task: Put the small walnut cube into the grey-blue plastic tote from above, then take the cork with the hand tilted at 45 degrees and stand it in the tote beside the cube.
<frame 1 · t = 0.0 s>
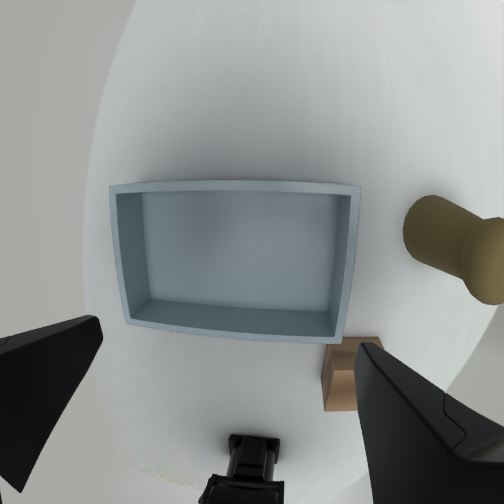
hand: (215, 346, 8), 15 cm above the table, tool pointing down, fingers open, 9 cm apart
tote: (235, 248, 23), on the table
walnut cube: (349, 357, 24), on the table
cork: (430, 229, 20), on the table
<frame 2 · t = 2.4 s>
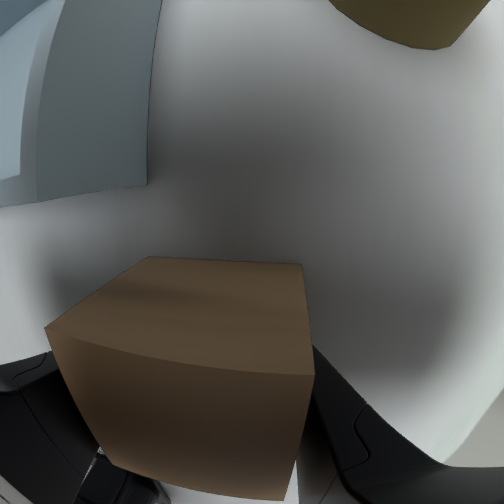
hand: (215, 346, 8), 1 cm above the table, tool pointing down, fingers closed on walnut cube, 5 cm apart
tote: (13, 92, 8), on the table
walnut cube: (222, 329, 9), on the table, touching gripper
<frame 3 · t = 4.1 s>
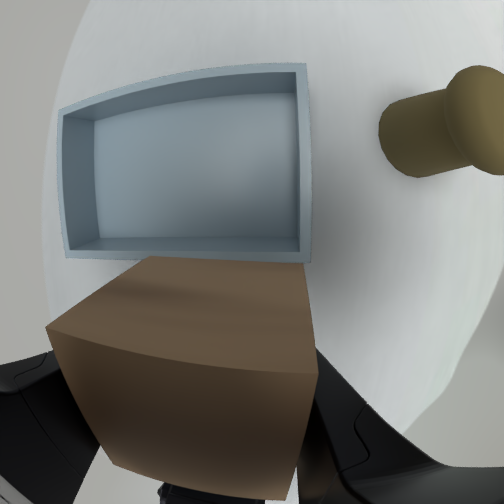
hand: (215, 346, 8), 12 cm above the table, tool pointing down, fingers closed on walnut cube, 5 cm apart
tote: (184, 168, 19), on the table
walnut cube: (223, 329, 9), point 11 cm above the table, touching gripper
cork: (413, 138, 17), on the table
when the fingers open (5 cm above the table, at t = 6.0 s): walnut cube drops 4 cm, resting on tote.
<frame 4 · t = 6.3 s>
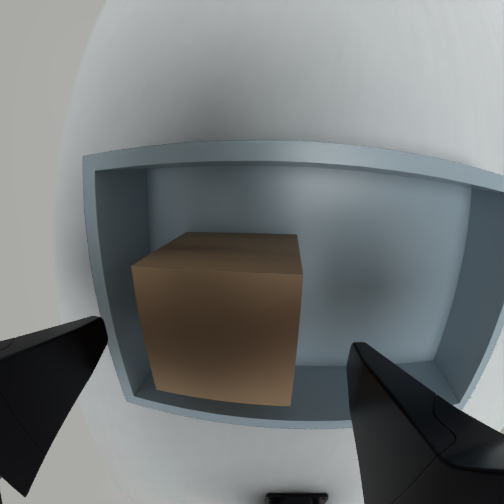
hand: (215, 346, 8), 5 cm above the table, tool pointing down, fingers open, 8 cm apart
tote: (315, 275, 13), on the table
walnut cube: (240, 285, 13), point 1 cm above the table, touching tote
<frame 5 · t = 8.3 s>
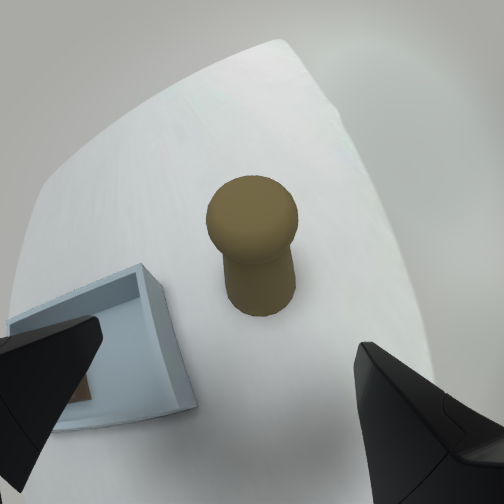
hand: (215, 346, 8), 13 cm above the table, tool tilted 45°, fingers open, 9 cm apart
tote: (96, 367, 21), on the table
walnut cube: (67, 378, 19), point 1 cm above the table, touching tote
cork: (260, 283, 24), on the table
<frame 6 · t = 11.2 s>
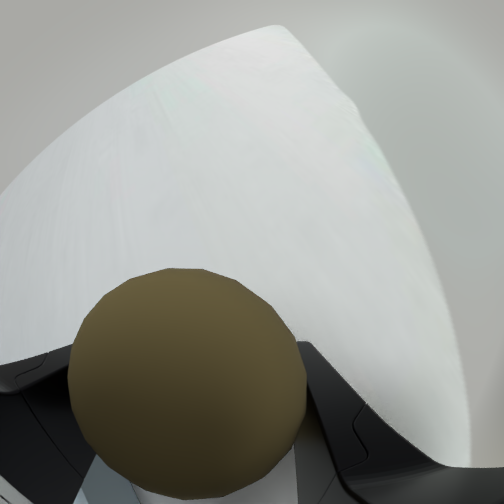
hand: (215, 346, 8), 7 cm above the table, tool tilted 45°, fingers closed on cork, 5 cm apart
tote: (37, 462, 10), on the table
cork: (238, 392, 14), on the table, touching gripper
when the fingers open (8 cm above the table, at t = 14.2 s): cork drops 1 cm, resting on tote.
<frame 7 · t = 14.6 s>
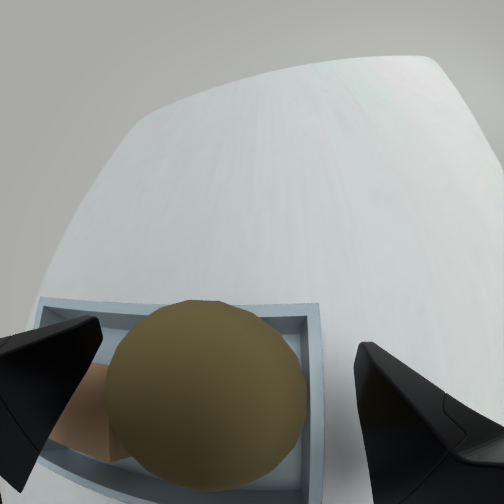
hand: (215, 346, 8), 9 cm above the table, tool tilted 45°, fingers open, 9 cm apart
tote: (170, 409, 15), on the table
walnut cube: (118, 407, 14), point 1 cm above the table, touching tote
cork: (241, 393, 15), resting on tote
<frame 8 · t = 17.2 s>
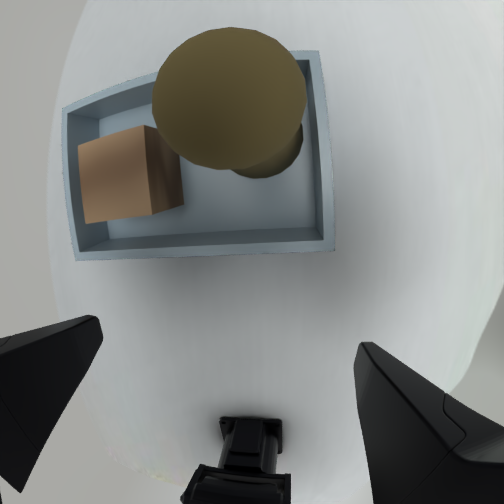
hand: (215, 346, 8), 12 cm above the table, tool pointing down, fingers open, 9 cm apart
tote: (196, 161, 19), on the table
walnut cube: (149, 174, 19), point 1 cm above the table, touching tote
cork: (257, 134, 17), resting on tote
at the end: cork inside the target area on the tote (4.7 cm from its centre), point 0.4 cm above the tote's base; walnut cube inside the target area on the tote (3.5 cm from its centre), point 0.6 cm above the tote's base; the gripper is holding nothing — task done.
